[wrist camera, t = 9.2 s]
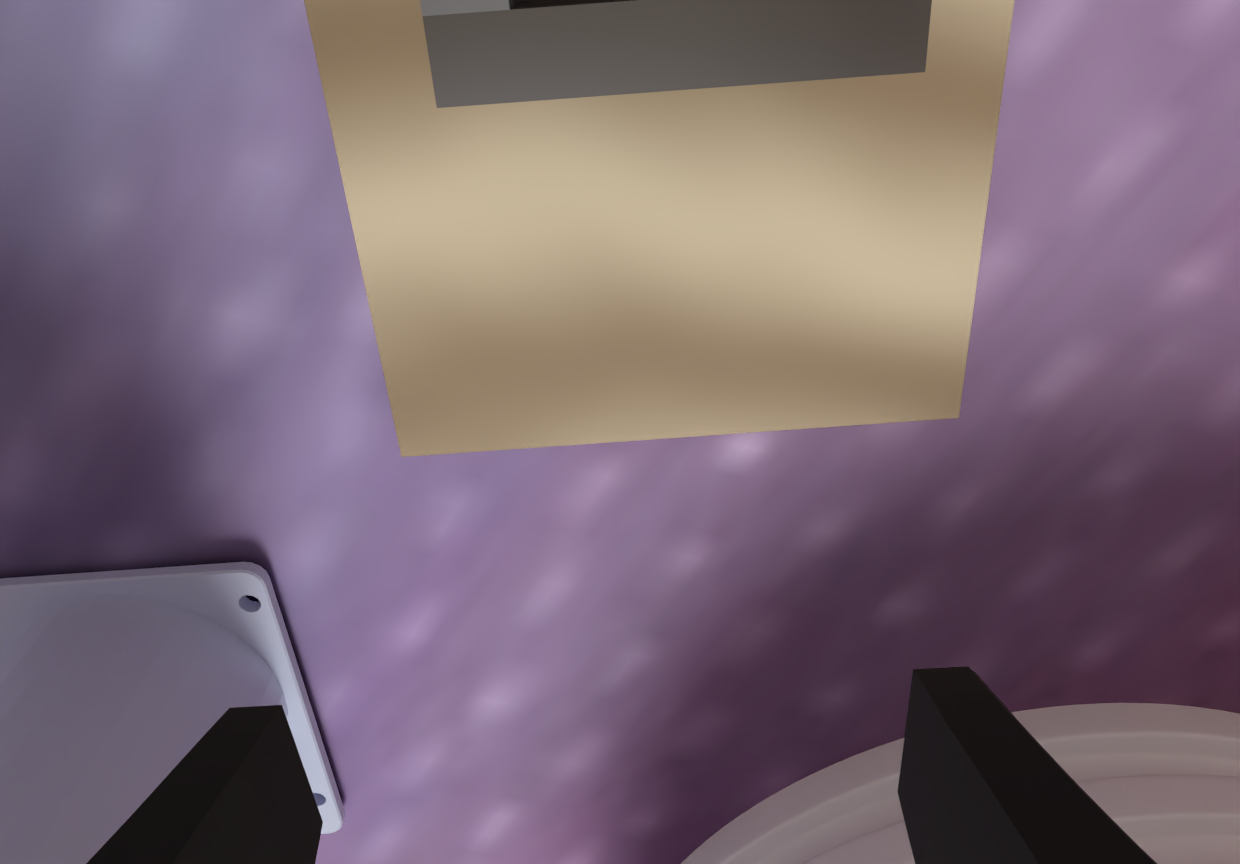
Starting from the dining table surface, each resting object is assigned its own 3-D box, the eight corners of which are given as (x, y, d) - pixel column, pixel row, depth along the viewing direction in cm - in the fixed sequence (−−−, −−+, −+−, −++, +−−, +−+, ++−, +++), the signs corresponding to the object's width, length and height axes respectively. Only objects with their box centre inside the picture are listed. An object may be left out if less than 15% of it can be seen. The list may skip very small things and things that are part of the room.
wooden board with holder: (942, 396, 20) (1021, 499, 16) (410, 434, 20) (368, 544, 16) (1056, -539, 13) (1243, -731, 9) (223, -472, 13) (75, -637, 9)
